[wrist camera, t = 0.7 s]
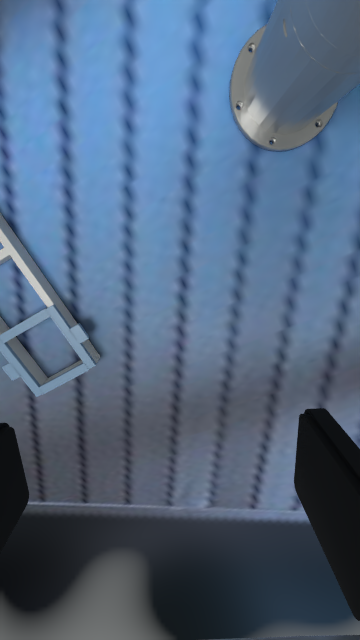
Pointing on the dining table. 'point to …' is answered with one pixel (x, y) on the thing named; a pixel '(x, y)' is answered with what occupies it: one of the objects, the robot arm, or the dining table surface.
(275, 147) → the robot arm
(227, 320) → the dining table surface
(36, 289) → the white ladder frame
